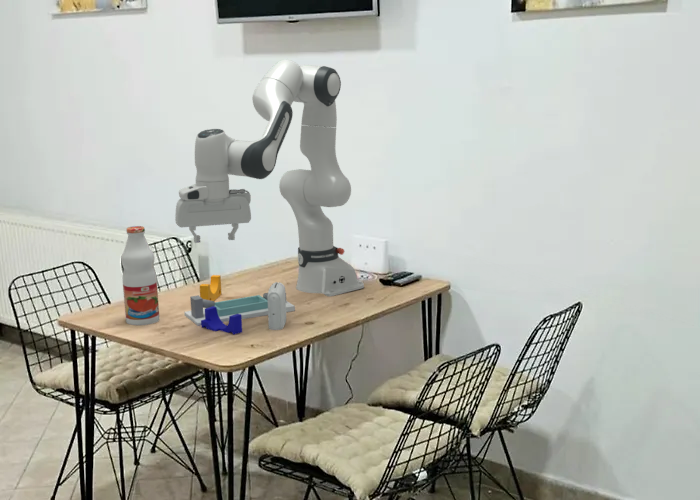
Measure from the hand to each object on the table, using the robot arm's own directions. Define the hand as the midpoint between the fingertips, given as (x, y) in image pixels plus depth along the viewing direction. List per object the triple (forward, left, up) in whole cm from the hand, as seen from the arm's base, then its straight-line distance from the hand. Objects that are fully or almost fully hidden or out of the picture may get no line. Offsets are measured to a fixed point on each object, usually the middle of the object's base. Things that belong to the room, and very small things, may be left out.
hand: (214, 241), depth 229 cm
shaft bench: (-10, -10, -25) cm, 29 cm away
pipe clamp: (-7, -28, -26) cm, 39 cm away
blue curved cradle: (0, +3, -26) cm, 26 cm away
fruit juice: (+17, -17, -26) cm, 35 cm away
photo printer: (-15, +6, -26) cm, 30 cm away
